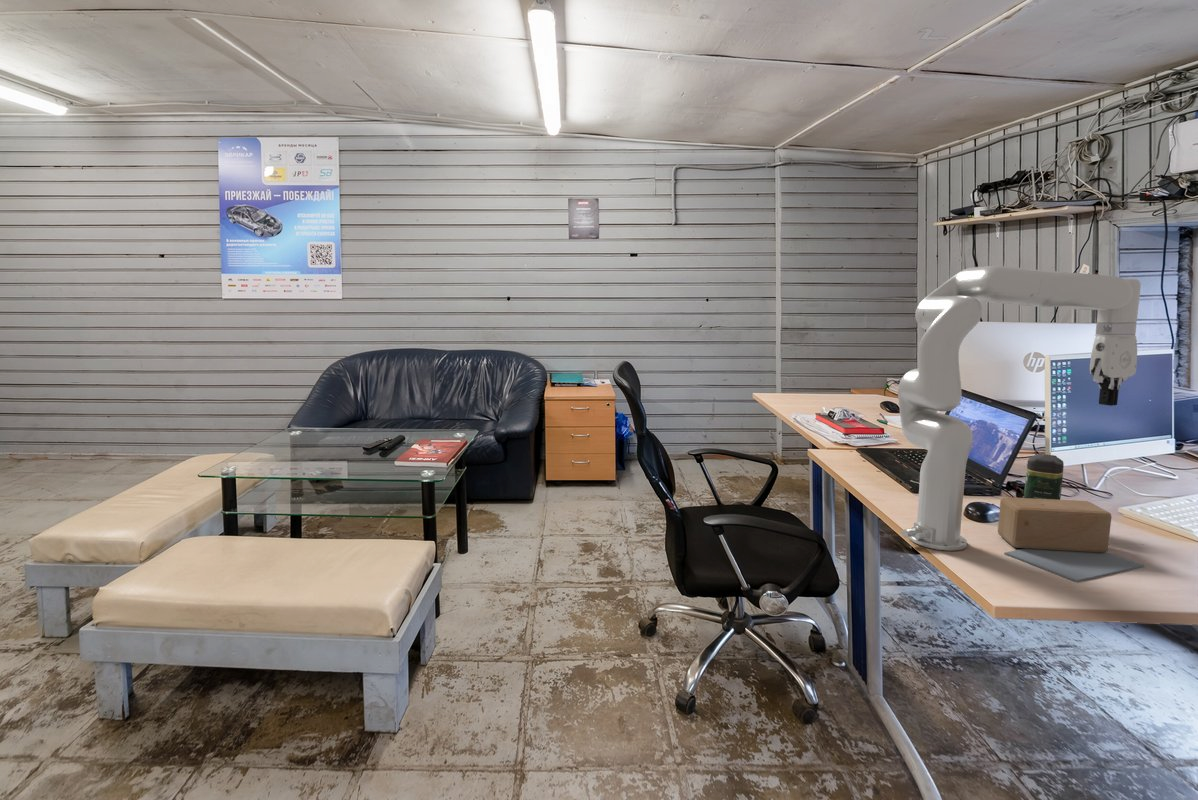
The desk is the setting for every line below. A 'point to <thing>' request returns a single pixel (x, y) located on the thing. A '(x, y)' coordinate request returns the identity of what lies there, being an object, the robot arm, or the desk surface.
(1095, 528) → the wooden block
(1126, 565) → the mat
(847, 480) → the desk surface
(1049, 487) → the coffee jar
